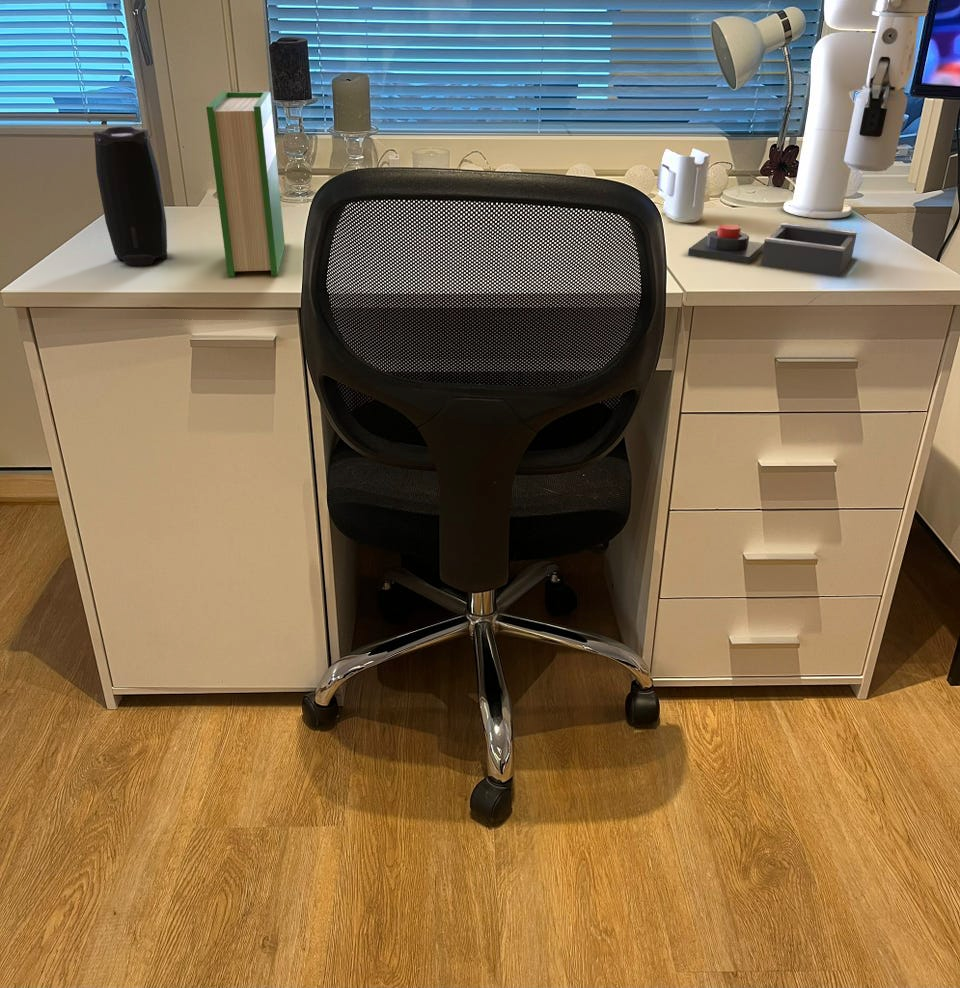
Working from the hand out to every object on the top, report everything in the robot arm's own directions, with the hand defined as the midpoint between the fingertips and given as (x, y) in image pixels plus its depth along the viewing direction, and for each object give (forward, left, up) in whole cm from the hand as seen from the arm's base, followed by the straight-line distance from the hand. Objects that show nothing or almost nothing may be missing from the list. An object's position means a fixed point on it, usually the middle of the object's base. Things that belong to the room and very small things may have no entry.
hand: (874, 131), depth 145 cm
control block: (+9, -18, -19) cm, 28 cm away
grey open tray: (+8, -5, -19) cm, 22 cm away
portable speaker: (+61, -98, -20) cm, 117 cm away
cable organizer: (-12, -33, -20) cm, 41 cm away
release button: (+9, -18, -17) cm, 26 cm away
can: (0, 0, -6) cm, 6 cm away
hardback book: (+52, -82, -20) cm, 99 cm away
